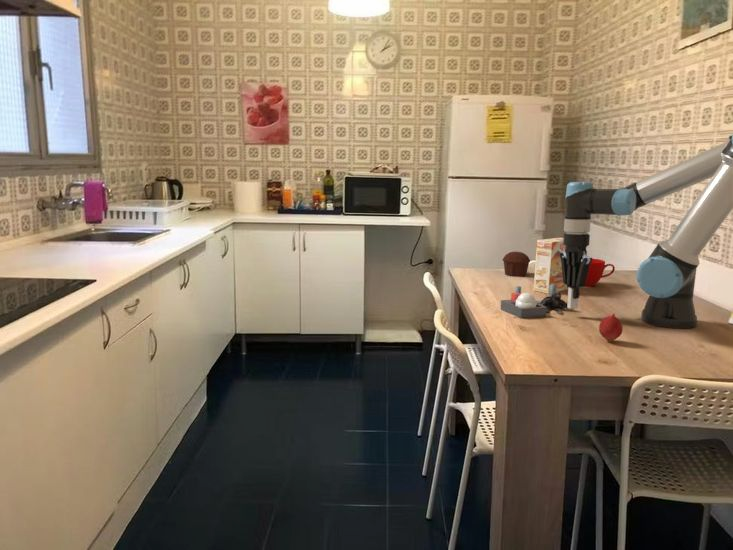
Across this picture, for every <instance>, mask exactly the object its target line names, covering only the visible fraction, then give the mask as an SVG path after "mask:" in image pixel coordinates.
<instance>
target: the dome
mask: <svg viewBox="0 0 733 550" xmlns="http://www.w3.org/2000/svg"><path fill="white" fill-rule="evenodd" d="M537 301H538V300H536V298H535V296H534V295H533V294H532V293H529V292H521V295H519V296H518V298H517V300H516V306H519V307H521V308H530V307H536V304H537Z"/></svg>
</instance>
